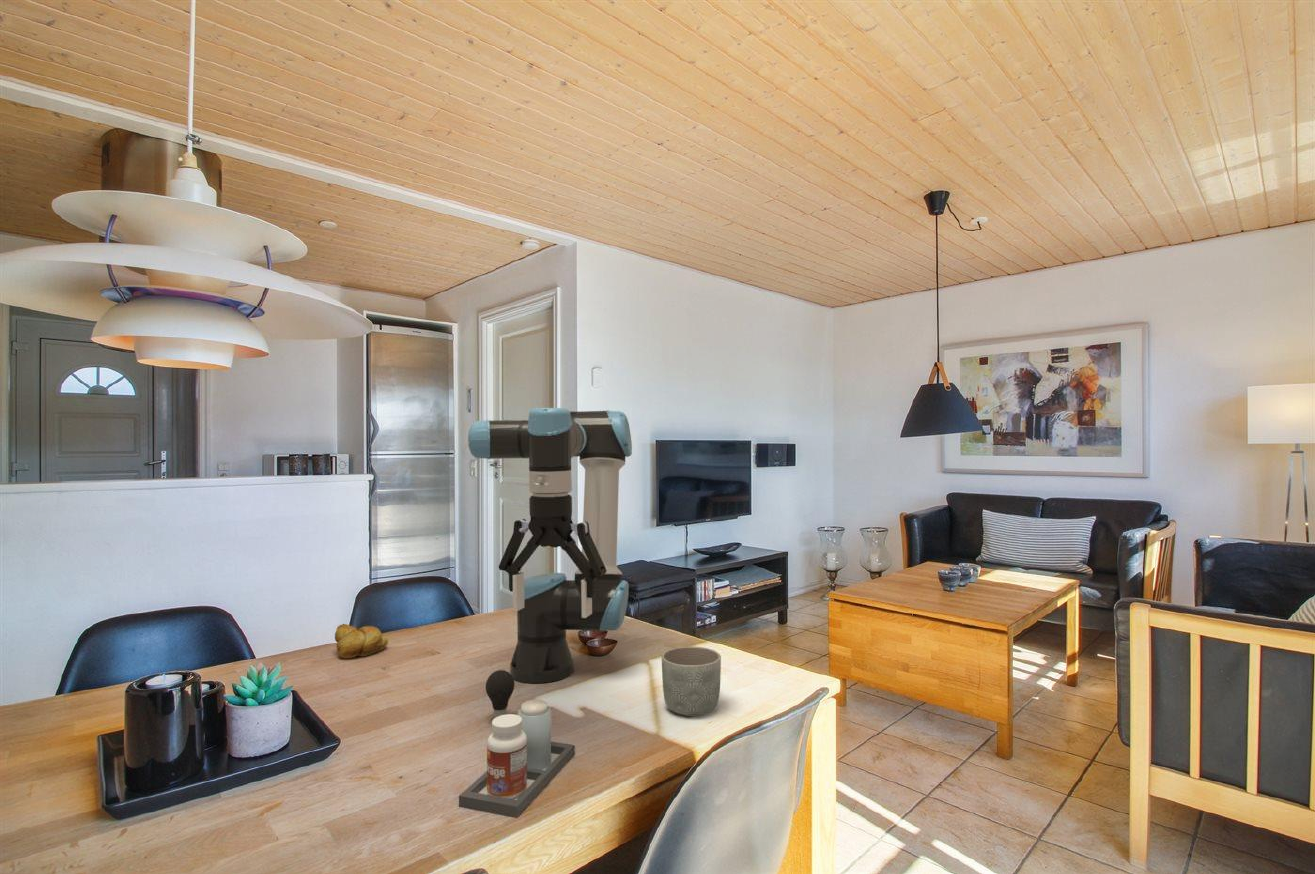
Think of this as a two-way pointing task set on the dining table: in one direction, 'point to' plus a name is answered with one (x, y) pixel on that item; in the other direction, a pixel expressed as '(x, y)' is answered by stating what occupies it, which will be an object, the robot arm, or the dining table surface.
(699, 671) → the planter
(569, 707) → the dining table surface
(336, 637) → the bread roll
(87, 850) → the dining table surface
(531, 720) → the pale blue jar
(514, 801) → the dark grey tray
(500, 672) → the light bulb
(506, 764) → the pill bottle
